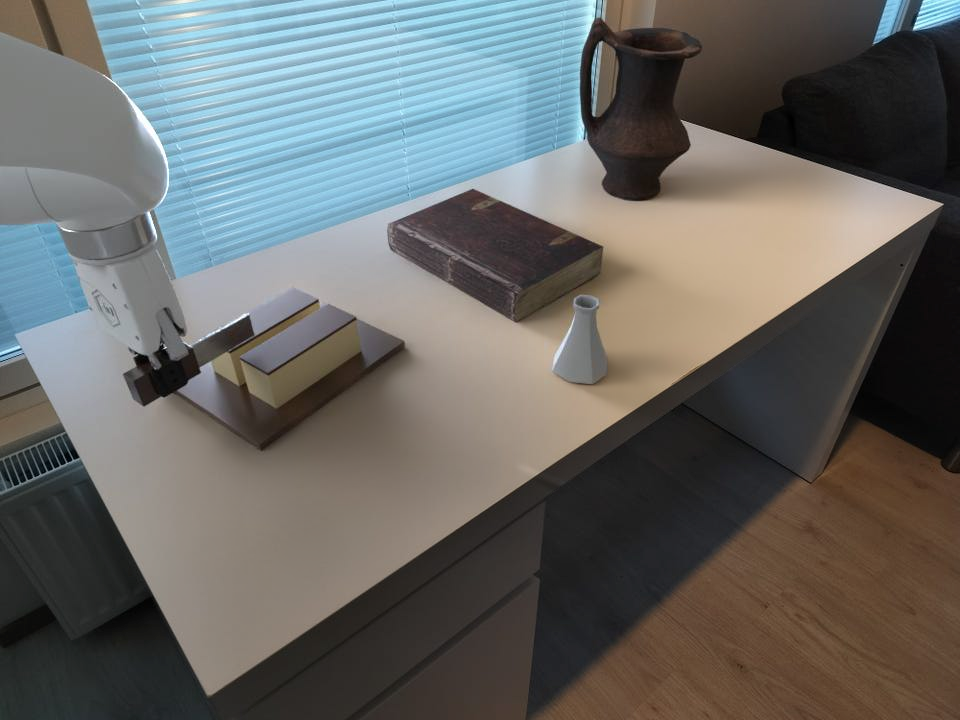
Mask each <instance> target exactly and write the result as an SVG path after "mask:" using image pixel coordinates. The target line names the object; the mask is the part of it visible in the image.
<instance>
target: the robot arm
mask: <svg viewBox="0 0 960 720" xmlns="http://www.w3.org/2000/svg"><path fill="white" fill-rule="evenodd" d="M169 172H170V171H169V165H168V160H167V157H166V153H165V150H164V147H163V145H162V143H161V141H160V139H159V137H158V135H157V134H156V132H155V130H154V128H153V127H152V125H151V124H150V122H149V121H148V119H147V118H146V117H145V115H144V114H143V113H142V111H141V110H140V109H139V108H138V107H137V105H136V104H135V103H134V102H133V100H132V99H130V97H129V96H128V95H127V94H126V92H125V91H124V90H123V89H122V88H121V87H120V86H119V85H117V83H115V81H113V80H112V79H110V78H109V77H107V76H106V75H105V74H103V73H101V72H99V71H98V70H95V69H94V68H92V67H90V66H88V65H86V64H84V63H81V62H80V61H77V60H75V59H72V58H70V57H68V56H64V55H62V54H60V53H57V52H54V51H51V50H48V49H46V48H43V47H40V46H38V45H36V44H33V43H30V42H28V41H25V40H22V39H20V38H18V37H14V36H13V35H10V34H7V33H4V32H1V31H0V226H26V225H40V224H41V225H42V224H51V223H53V224H55V225H56V227H57V229H58V232H59V234H60V236H61V239H62V242H63V244H64V246H65V248H66V251H67V253H68V255H69V258H70V259H71V260H72V261H73V265H74V268H75V271H76V275H77V278H78V281H79V284H80V286H81V289H82V291H83V295H84V297H85V301H86V303H87V305H88V308H89V311H90V313H91V316H92V319H93V321H94V322H95V325H97V326H98V328H99V329H100V330H102V331H103V332H105V333H106V334H107V335H109V336H110V337H112V338H113V339H115V340H117V341H118V342H119V343H121V344H123V345H124V346H125V347H127V350H128V351H129V353H130V354H131V355H132V356H134V357H133V358H132V359H133V361H134V365H135V367H136V366H138V365H140V364H142V363H144V362H146V361H147V360H149V361H150V363H151V365H152V366H150V367H149V371H150V373H151V376H152V378H153V381H154V383H155V386H156V389H157V391H158V394H159V395H160V396H161V397H160V398H164V399H165V398H167V397H169V396H170V395H172V394H174V392H175V391H177V390H179V389H180V388H182V387H184V386H185V385H187V384H188V379H187V376H186V373H185V371H184V368H183V365H182V362H181V359H182V358H184V357H185V356H187V355H189V353H188V350H187V349H186V347H185V345H184V343H185V342H184V341H183V339H182V338H184V337H186V335H187V333H188V327H187V322H186V318H185V314H184V311H183V309H182V306H181V303H180V301H179V298H178V295H177V292H176V290H175V288H174V286H173V283H172V280H171V278H170V276H169V275H170V274H169V273H168V271H167V269H166V267H165V264H164V262H163V260H162V257H161V255H160V254H159V251H158V250H157V247H156V246H155V244H156V243H157V240H158V234H157V232H156V229H155V226H154V223H153V220H152V216H151V214H150V212H152V211H153V210H155V209H157V208H158V207H159V206H160V205H161V203H163V201H164V199H165V197H166V195H167V192H168V189H169V179H170V176H169V175H170V173H169ZM183 342H184V343H183ZM164 345H165V346H164Z"/></svg>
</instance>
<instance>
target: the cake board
mask: <svg viewBox="0 0 960 720" xmlns="http://www.w3.org/2000/svg"><path fill="white" fill-rule="evenodd" d="M319 304H320V308H322V307H324V306H325V305H327V304H328V303H327V304H326V303H324V302H322V301H321V300H319ZM357 325H358V332H359V339H360V346H361V352H359V353H358V354H356V355H355V356H353V357H352V358H350V359H349V360H347V361H346V362H345V363H343V364H342V365H340V366H339V367H337V368H336V369H334V370H333V371H331V372H330V373H328V374H327V375H326V376H324V377H323V378H321V379H320V380H318V381H317V382H315V383H314V384H312V385H311V386H309V387H308V388H307V389H305V390H304V391H302V392H301V393H299V394H298V395H296V396H295V397H293V398H292V399H290V400H289V401H288V402H286V403H285V404H283V405H282V406H280V407H279V408H277V409H276V408H274V407H273V406H271V405H269V404H268V403H266V402H264V401H263V400H261V399H260V398H258V397H256V396H255V395H253V394H251V393H250V392H249V390H248V386H247V383H244V384H243V385H241V386H238V385H236V384H235V383H233V382H231V381H230V380H228V379H226V378H225V377H223V376H221V375H220V374H218V373H217V372H215V371H214V369H213V366H212V363H211V361H210V362H209V363H207V364H205V365H203V366H202V367H200V371H201V373H200V374H199V375H197V376H195V377H193V378H192V379H190V380H188V384H187V385H185V386H184V387H182V388H180V389H179V390H177V391H175V392H174V393H173V394H174V395H176V396H178V397H179V398H180V399H182V400H183V401H185V402H187V404H189V405H191V406H193V407H194V408H195V409H197V410H198V411H200V412H201V413H203V414H205V415H206V416H208V417H209V418H210V419H212V420H214V421H215V422H217V423H218V424H220V425H221V426H223V428H226V429H227V430H229V431H230V432H232V433H233V434H235V435H236V436H238V437H239V438H241V439H242V440H244V441H245V442H247V443H248V444H250V445H251V446H253V447H254V448H256V449H257V450H259V451H263V450H264V449H265V448H267V447H268V446H269V445H271V444H272V443H274V442H275V441H276V440H278V439H279V438H280V437H282V436H283V435H285V434H286V433H288V432H289V431H290V430H292V429H293V428H294V427H296V426H297V425H298V424H300V423H301V422H302V421H305V419H307V418H308V417H310V416H312V414H314V413H315V412H317V411H318V410H319V409H321V408H322V407H323V406H325V405H327V404H328V403H329V402H331V401H332V400H333V399H335V398H336V397H338V396H339V395H340V394H342V393H343V392H344V391H346V390H347V389H348V388H350V387H351V386H353V385H354V384H355V383H357V382H358V381H360V380H361V379H362V378H364V377H365V376H367V375H368V374H370V373H371V372H373V371H374V370H376V368H378V367H380V365H382V364H383V363H385V362H386V361H387V360H389V359H390V358H391V357H393V356H395V355H396V354H397V353H399V352H400V351H402V350H403V349H404V348H406V344H405V343H406V342H405V340H403V339H401V338H399V337H397V336H394V335H392V334H391V333H388V332H386V331H384V330H381V329H379V328H377V327H375V326H374V325H371V324H369V323H366V322H365V321H364V320H363V321H362V320H361V319H358V318H357Z"/></svg>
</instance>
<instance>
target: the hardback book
mask: <svg viewBox="0 0 960 720" xmlns="http://www.w3.org/2000/svg"><path fill="white" fill-rule="evenodd" d="M386 232H387V234H386V235H387V243H388V247H389V249H390V251H392V252H394V253H396V254H398V255H399V256H400V257H402V258H404V259H405V260H408V261H410V262H411V263H412V264H415V265H417V266H418V267H419V268H422V269H423V270H425V271H426V272H428V273H430V274H432V275H433V276H435V277H437V278H438V279H440V280H442V281H444V282H445V283H447V284H449V285H451V286H453V287H454V288H455V289H458V290H459V291H461V292H463V293H464V294H466V295H468V296H469V297H471V298H473V299H474V300H476V301H478V302H480V303H481V304H483V305H485V306H487V307H488V308H490V309H492V310H494V311H495V312H497V313H499V314H500V315H502V316H503V317H506V318H507V319H509V320H511V321H513V322H514V323H518V322H519V321H521V320H523V319H524V318H526V317H528V316H529V315H531V314H533V313H535V312H537V311H538V310H540V309H541V308H543V307H545V306H547V305H548V304H550V303H552V302H554V301H555V300H557V299H558V298H561V297H562V296H564V295H566V294H568V293H569V292H570V291H573V290H574V289H576V288H577V287H579V286H581V285H583V284H584V283H586V282H588V281H590V280H591V279H593V278H595V277H597V276H598V275H600V274H601V271H602V264H603V263H602V262H603V254H604V246H603V245H601V244H599V243H596V242H594V241H593V240H590V239H587V238H585V237H584V236H581V235H578V234H576V233H574V232H572V231H570V230H567V229H565V228H563V227H561V226H558V225H556V224H554V223H551V222H549V221H547V220H545V219H542V218H541V217H538V216H535V214H534V215H533V214H531V213H529V212H527V211H525V210H522V209H520V208H518V207H515V206H514V205H511V204H508V203H506V202H504V201H502V200H499V199H498V198H496V197H493V196H491V195H488V194H487V193H484V192H481V191H479V190H477V189H475V188H470V189H469V190H466V191H464V192H462V193H459V194H456V195H454V196H452V197H449V198H447V199H445V200H441V201H440V202H438V203H434V204H433V205H429V206H428V207H425V208H423V209H421V210H418V211H416V212H413V213H411V214H408V215H406V216H403V217H400V218H399V219H396V220H394V221H392V222H390V223H389V222H388V224H387V230H386Z"/></svg>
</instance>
